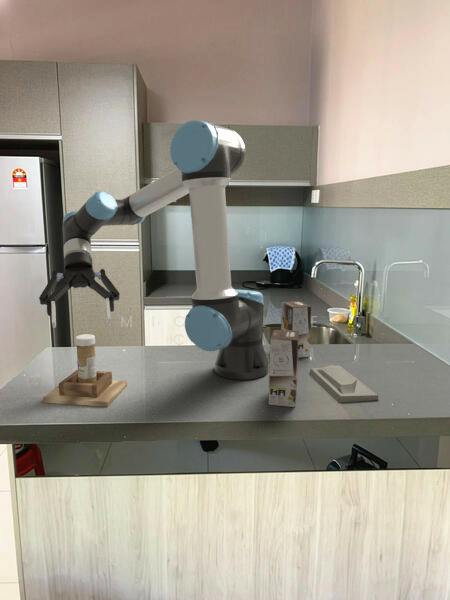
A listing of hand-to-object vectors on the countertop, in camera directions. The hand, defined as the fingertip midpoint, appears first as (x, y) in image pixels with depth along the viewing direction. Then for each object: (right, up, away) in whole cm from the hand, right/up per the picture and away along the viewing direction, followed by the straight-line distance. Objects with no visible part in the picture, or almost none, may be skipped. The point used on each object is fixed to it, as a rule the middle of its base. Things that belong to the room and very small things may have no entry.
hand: (82, 323), depth 118 cm
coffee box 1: (+59, -11, +28) cm, 66 cm away
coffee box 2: (+51, -18, -7) cm, 54 cm away
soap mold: (+67, -17, +1) cm, 69 cm away
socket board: (+3, -17, -4) cm, 18 cm away
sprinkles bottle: (+3, -16, -4) cm, 17 cm away
